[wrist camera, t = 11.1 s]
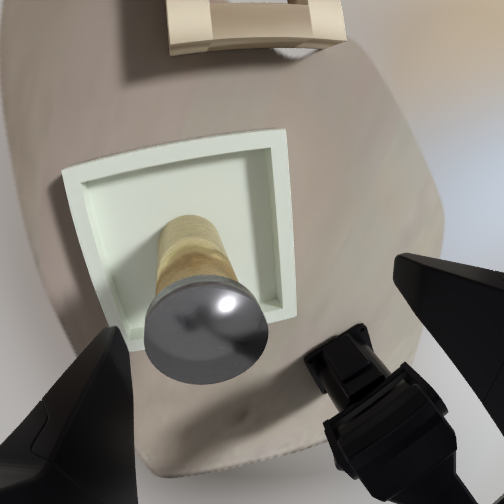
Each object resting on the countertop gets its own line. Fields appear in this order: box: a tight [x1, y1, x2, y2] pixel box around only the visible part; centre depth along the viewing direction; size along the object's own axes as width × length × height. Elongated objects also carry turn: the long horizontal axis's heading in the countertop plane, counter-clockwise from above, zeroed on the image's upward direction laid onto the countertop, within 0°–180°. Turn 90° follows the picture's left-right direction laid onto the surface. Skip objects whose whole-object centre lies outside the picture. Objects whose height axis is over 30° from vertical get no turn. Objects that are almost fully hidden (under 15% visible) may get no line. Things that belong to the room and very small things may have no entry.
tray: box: [61, 128, 297, 352], centre depth 20 cm, size 13×13×2 cm
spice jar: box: [144, 215, 268, 385], centre depth 16 cm, size 5×5×10 cm
